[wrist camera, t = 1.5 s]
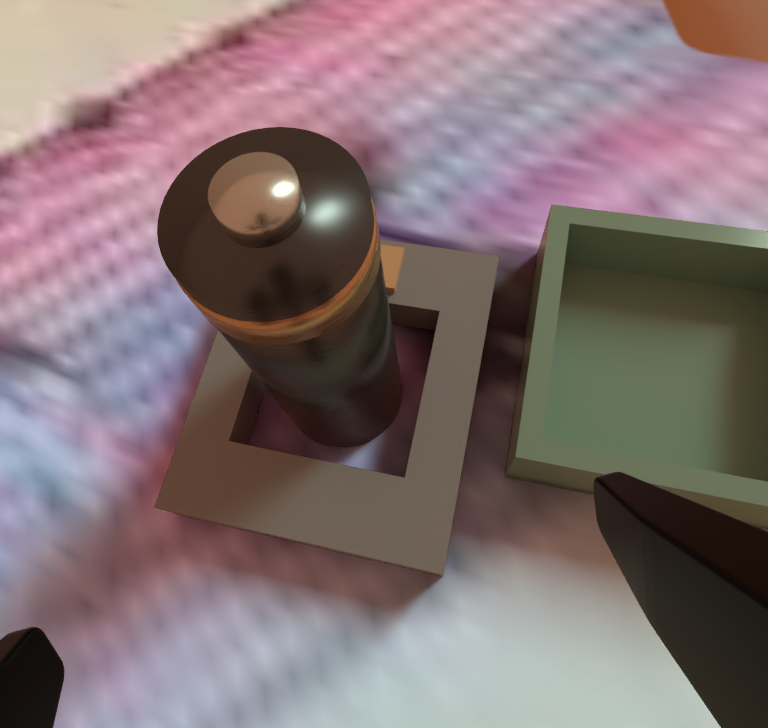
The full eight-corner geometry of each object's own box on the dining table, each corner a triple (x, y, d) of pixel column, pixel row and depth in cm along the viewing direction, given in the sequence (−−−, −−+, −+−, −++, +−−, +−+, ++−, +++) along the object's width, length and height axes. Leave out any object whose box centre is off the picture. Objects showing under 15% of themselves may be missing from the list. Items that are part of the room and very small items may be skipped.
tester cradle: (443, 576, 21) (443, 574, 19) (176, 514, 23) (149, 505, 21) (494, 280, 26) (500, 251, 24) (268, 247, 28) (254, 217, 26)
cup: (794, 535, 21) (859, 524, 18) (504, 476, 23) (515, 456, 19) (786, 286, 25) (838, 240, 21) (537, 252, 26) (551, 204, 23)
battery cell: (389, 459, 23) (336, 309, 11) (272, 435, 24) (102, 271, 12) (414, 347, 25) (391, 111, 13) (304, 328, 26) (185, 89, 14)
